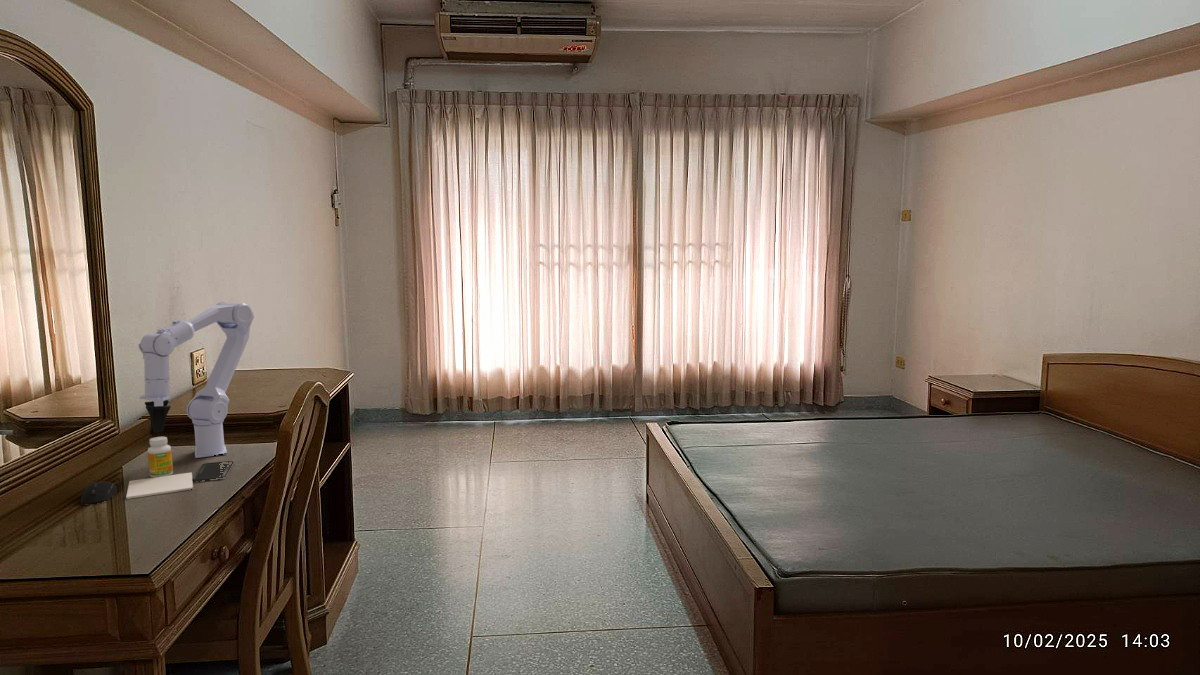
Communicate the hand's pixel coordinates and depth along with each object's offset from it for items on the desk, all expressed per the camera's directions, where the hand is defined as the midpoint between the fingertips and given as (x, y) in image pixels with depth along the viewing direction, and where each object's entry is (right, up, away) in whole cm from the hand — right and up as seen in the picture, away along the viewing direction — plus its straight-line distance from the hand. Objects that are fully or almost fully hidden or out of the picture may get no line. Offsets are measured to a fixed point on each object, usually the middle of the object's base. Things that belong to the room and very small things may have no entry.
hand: (157, 430), depth 211 cm
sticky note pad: (+8, -12, -13) cm, 20 cm away
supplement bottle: (+3, -11, -4) cm, 13 cm away
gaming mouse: (-2, -14, -22) cm, 27 cm away
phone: (+16, -11, -3) cm, 20 cm away
